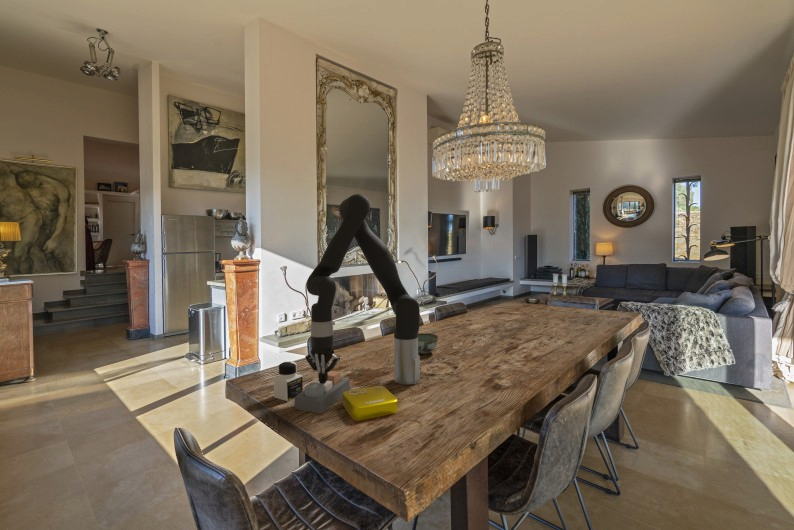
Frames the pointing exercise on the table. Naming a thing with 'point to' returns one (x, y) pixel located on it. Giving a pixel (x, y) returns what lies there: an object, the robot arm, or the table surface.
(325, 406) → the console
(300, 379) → the medicine bottle
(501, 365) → the table surface
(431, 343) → the bowl
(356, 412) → the element tile
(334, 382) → the terracotta key
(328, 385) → the ivory key
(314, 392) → the slate key
